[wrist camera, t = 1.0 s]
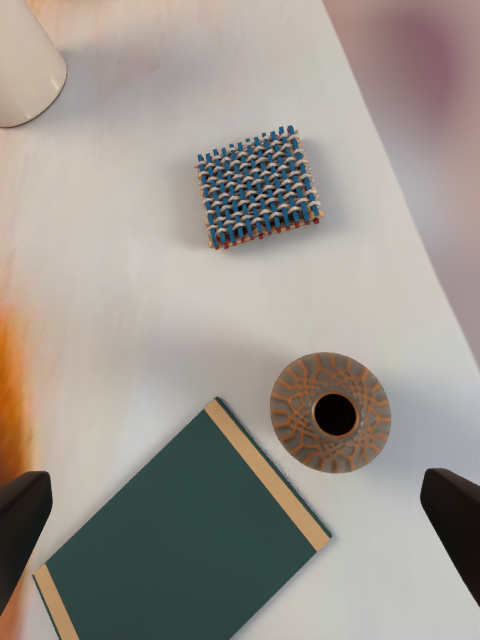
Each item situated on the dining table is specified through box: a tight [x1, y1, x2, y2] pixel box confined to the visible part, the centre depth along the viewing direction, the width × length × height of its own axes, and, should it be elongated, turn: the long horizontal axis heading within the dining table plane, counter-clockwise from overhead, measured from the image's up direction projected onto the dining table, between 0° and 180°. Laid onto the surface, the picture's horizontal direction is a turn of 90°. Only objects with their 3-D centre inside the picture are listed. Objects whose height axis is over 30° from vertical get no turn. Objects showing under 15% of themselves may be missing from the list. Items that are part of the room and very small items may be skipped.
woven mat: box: [194, 125, 324, 250], centre depth 26 cm, size 10×11×2 cm
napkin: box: [32, 397, 332, 640], centre depth 20 cm, size 12×20×1 cm, turn 133°
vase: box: [270, 352, 391, 473], centre depth 17 cm, size 7×7×9 cm
